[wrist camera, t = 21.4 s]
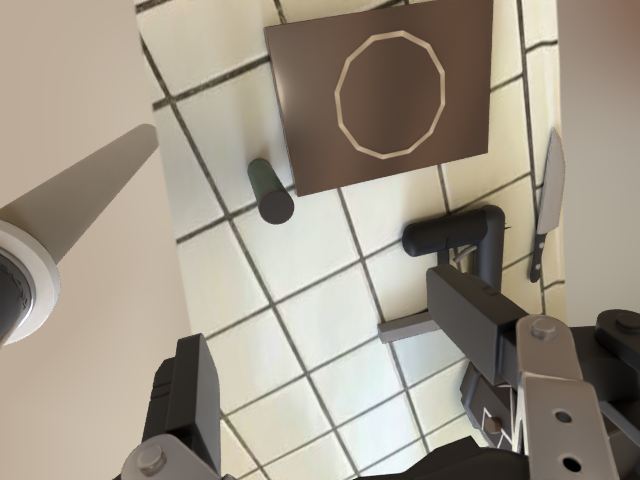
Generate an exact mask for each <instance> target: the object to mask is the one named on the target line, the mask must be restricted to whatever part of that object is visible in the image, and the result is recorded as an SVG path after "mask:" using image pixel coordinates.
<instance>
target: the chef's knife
mask: <svg viewBox="0 0 640 480" xmlns="http://www.w3.org/2000/svg"><path fill="white" fill-rule="evenodd" d="M564 181H565V162H564V156H563V150H562V144H561V139H560V137H559V135H558V134H557V132H556V130H555V128H554V127H553V132H552V137H551V142H550V148H549V154H548V160H547V166H546V172H545V179H544V185H543V192H542V199H541V206H540V213H539V220H538V226H537V233H536V238H535V247H534V254H533V261H532V267H531V273H530V281H531V282H532V283H535V282H537V281H538V279H539V278H540V277H541V276H540V263H541V256H542V252H543V247H544V243H545V238H546V235H547V233H548V232H549V231H551V230H553V229H554V228H556V227H558V223H559V216H560V209H561V202H562V195H563V188H564Z"/></svg>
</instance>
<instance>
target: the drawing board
mask: <svg viewBox="0 0 640 480" xmlns="http://www.w3.org/2000/svg"><path fill="white" fill-rule="evenodd" d="M492 23H493V0H434V1H428V2H422V3H415V4H409V5H403V6H396V7H390V8H383V9H377V10H371V11H364V12H358V13H351V14H345V15H339V16H332V17H326V18H320V19H313V20H307V21H300V22H294V23H288V24H281V25H275V26H268V27H265V28H264V33H265V38H266V44H267V49H268V54H269V59H270V64H271V69H272V74H273V80H274V85H275V90H276V95H277V100H278V105H279V110H280V116H281V121H282V126H283V131H284V136H285V141H286V146H287V151H288V157H289V162H290V167H291V172H292V177H293V182H294V187H295V193H296V195H297V197H301V196H305V195H309V194H314V193H318V192H322V191H326V190H331V189H335V188H339V187H344V186H348V185H352V184H356V183H361V182H365V181H369V180H374V179H378V178H382V177H386V176H391V175H395V174H399V173H404V172H408V171H412V170H416V169H421V168H425V167H429V166H434V165H438V164H442V163H447V162H451V161H455V160H459V159H464V158H468V157H472V156H477V155H481V154H485V153H488V132H489V104H490V77H491V50H492Z"/></svg>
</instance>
